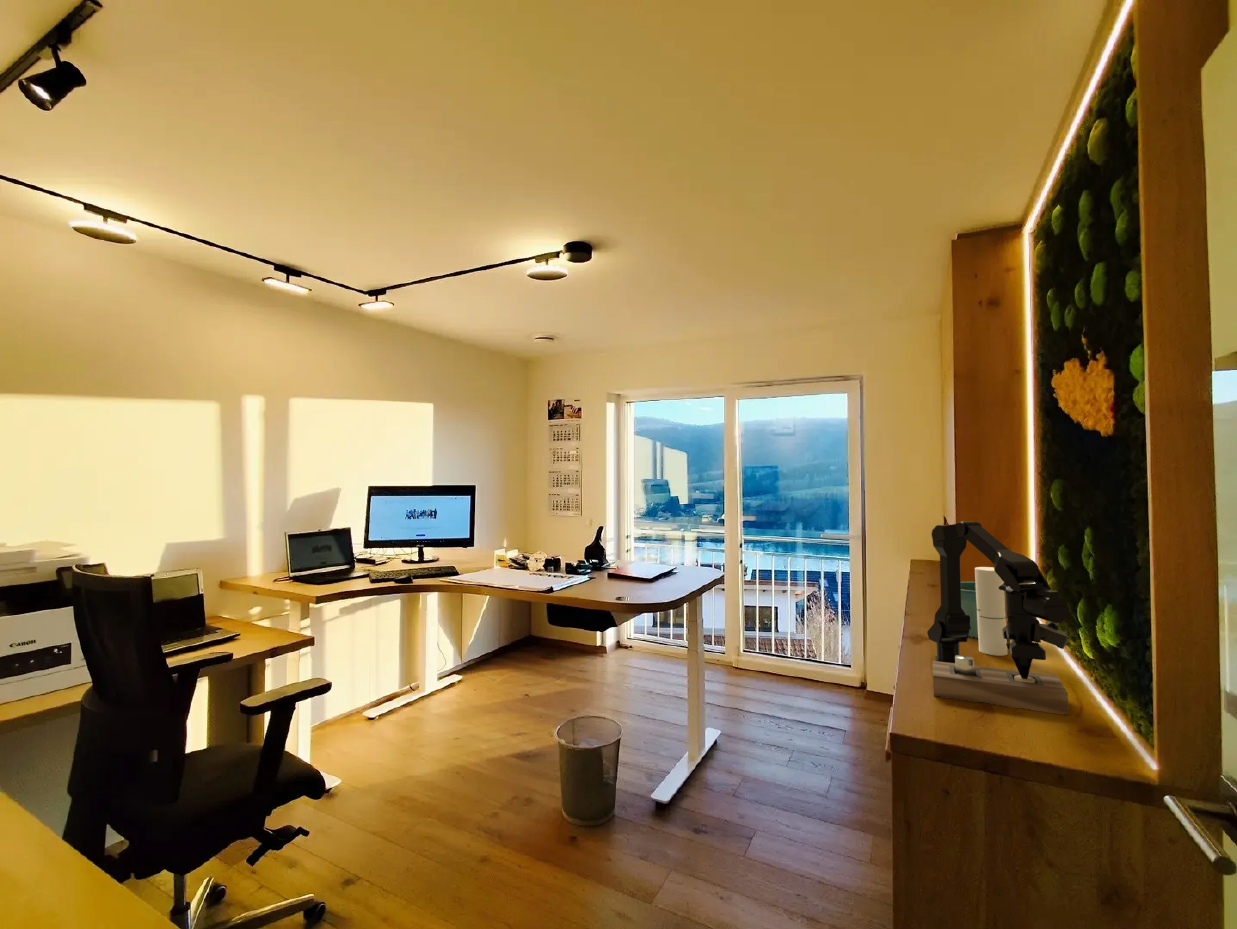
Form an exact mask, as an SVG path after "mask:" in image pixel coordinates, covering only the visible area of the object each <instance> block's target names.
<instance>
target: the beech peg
mask: <svg viewBox="0 0 1237 929" xmlns="http://www.w3.org/2000/svg"><path fill="white" fill-rule="evenodd" d="M1014 681H1021V682H1029V683H1035V679H1034V678H1032V677H1028V678H1027V679H1023V678H1021V675H1017V676H1014Z"/></svg>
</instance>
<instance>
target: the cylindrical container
mask: <svg viewBox="0 0 1237 929" xmlns="http://www.w3.org/2000/svg"><path fill="white" fill-rule="evenodd" d="M974 577H975V578H974V579H975V580H974V582H975V583H976V602H977V622H978V638H977V639H978V640H977V641H978V651H979V652H980V653H983V654H986V655H990V656H999V657H1001V656H1002V657H1003V656H1007V655H1008V648H1007V646H1006V644H1007V643H1008V640H1007V639H1004V638H1003V634H1002V629H1003V628H1004V627H1005V626H1007V619H1006V616H1005V613H1006V596H1005V597H1004V591H1003V590H999V588H998V587H999V586H1001V585H1002V584H1003V583H1004V582H1003V581H1002V579H1001V578H1000V577H999V576H998V575H997V573H996V572H995V571H994V566H993V567H991V566H977V567H974Z"/></svg>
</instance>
